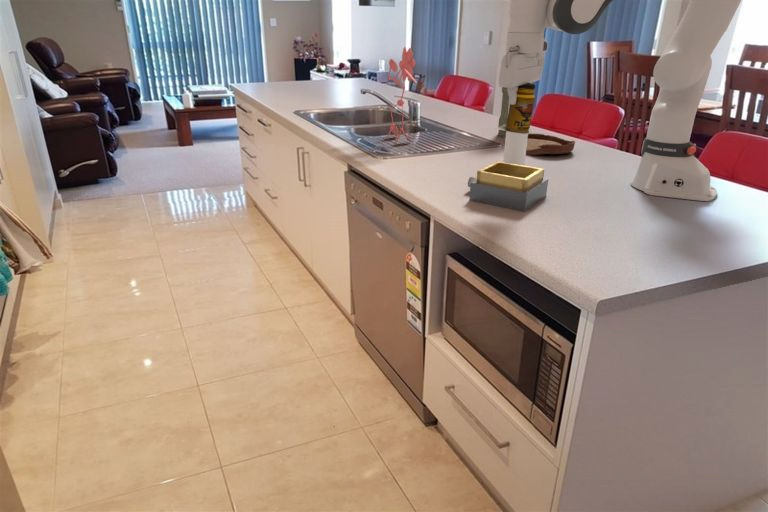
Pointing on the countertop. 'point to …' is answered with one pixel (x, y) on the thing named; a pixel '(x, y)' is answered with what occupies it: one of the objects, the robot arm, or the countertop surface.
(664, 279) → the countertop surface
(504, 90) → the green stone statue
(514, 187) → the grey and gold box
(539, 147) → the basket
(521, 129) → the condiment
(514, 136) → the cylindrical container
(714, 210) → the countertop surface
